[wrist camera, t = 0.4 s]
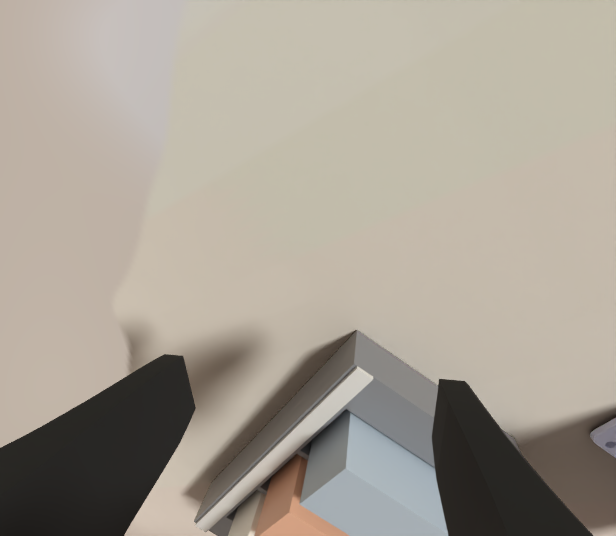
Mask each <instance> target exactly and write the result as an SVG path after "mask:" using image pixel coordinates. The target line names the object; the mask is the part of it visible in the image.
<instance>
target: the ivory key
mask: <svg viewBox="0 0 616 536" xmlns="http://www.w3.org/2000/svg"><path fill="white" fill-rule="evenodd" d="M265 498H266V495H264V494H263V493H261V492H260V491H258V490H257V491H256V492H255V493H254V494H252V495H251V496H250V497H249V498H248V499H247V500H246V501H245V502H244V503H242V504H241V505H240V506H239V507H238V509H237V512H236V514H235V517H234V520H233V523H232V526H231V528H230V531H229V534H228V536H254V535H255V532H256V529H257V525H258V522H259V518H260V515H261V511H262V508H263V505H264V501H265Z"/></svg>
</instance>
